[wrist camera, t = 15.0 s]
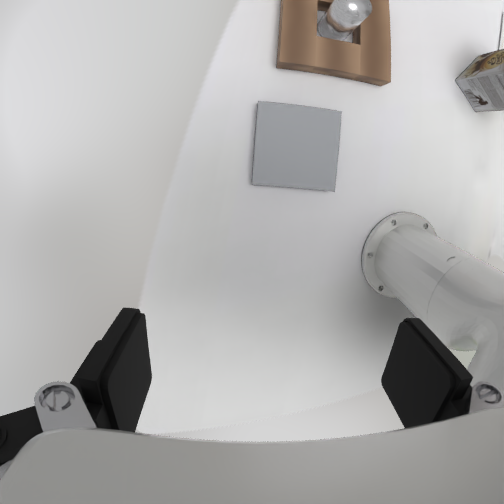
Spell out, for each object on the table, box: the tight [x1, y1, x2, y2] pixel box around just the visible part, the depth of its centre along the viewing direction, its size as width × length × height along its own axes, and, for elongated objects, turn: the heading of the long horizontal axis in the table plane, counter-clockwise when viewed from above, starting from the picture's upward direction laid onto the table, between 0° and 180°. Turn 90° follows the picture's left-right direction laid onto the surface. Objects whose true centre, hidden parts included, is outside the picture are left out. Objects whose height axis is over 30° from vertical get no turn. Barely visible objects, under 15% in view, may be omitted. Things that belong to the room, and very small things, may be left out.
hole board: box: [277, 0, 391, 86], centre depth 31 cm, size 14×14×3 cm
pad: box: [252, 101, 342, 192], centre depth 36 cm, size 10×10×2 cm
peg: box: [318, 0, 372, 41], centre depth 28 cm, size 4×4×9 cm
